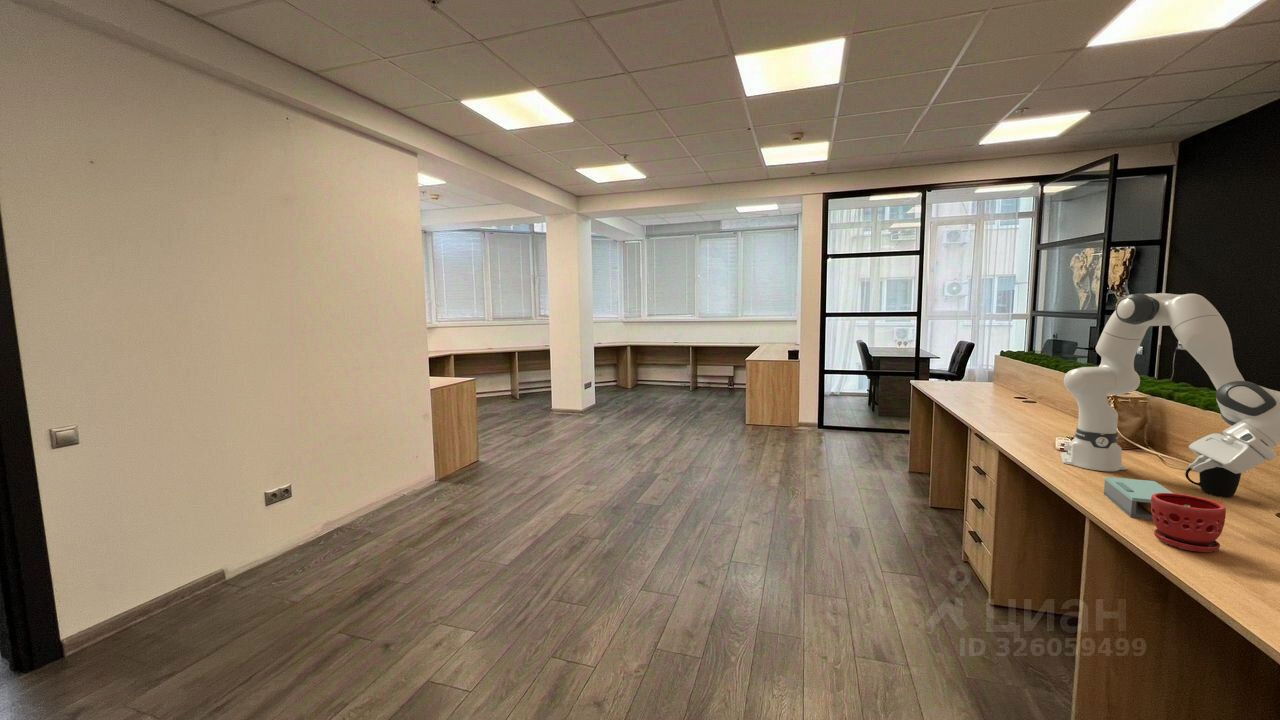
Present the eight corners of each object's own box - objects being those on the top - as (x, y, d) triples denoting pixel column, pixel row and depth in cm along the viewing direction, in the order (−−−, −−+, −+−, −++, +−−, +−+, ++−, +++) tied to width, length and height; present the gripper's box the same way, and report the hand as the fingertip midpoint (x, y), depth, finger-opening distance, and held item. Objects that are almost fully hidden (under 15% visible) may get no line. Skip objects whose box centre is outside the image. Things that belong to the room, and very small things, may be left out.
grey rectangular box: (1103, 494, 164) (1104, 479, 164) (1152, 500, 159) (1153, 485, 159) (1130, 517, 147) (1132, 500, 146) (1186, 524, 141) (1188, 507, 141)
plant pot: (1219, 544, 130) (1224, 499, 129) (1223, 561, 121) (1228, 514, 120) (1148, 528, 139) (1152, 487, 138) (1146, 543, 130) (1151, 499, 129)
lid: (1104, 479, 164) (1105, 475, 164) (1154, 484, 159) (1154, 480, 159) (1132, 500, 146) (1132, 496, 146) (1188, 506, 141) (1188, 502, 141)
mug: (1234, 493, 164) (1238, 463, 163) (1241, 501, 157) (1245, 470, 156) (1181, 485, 172) (1184, 456, 171) (1186, 492, 165) (1189, 463, 164)
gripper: (1213, 423, 149) (1165, 451, 154) (1259, 440, 130) (1202, 471, 136) (1232, 439, 147) (1183, 467, 152) (1281, 459, 129) (1224, 489, 134)
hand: (1193, 469), depth 144 cm, fingers closed
